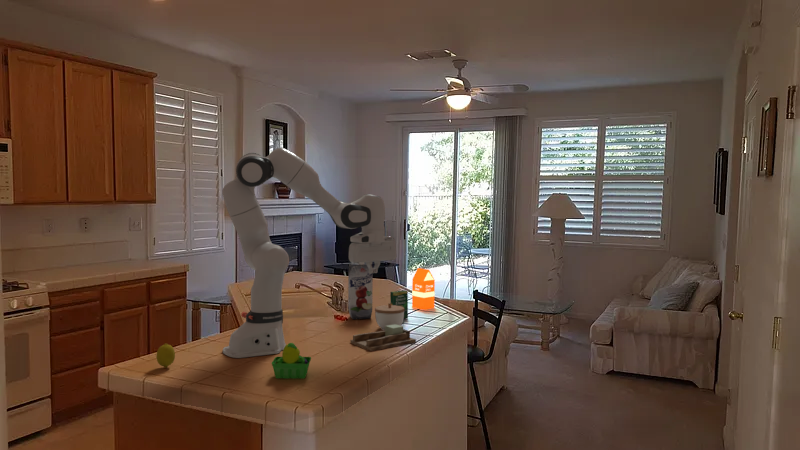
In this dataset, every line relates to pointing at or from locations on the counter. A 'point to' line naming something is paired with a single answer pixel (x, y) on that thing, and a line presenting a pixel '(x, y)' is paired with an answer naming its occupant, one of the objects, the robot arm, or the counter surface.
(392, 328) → the block
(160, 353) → the lemon
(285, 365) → the fruit basket
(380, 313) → the lidded bowl
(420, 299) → the orange juice
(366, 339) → the board
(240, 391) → the counter surface
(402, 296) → the coffee box
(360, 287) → the juice carton
